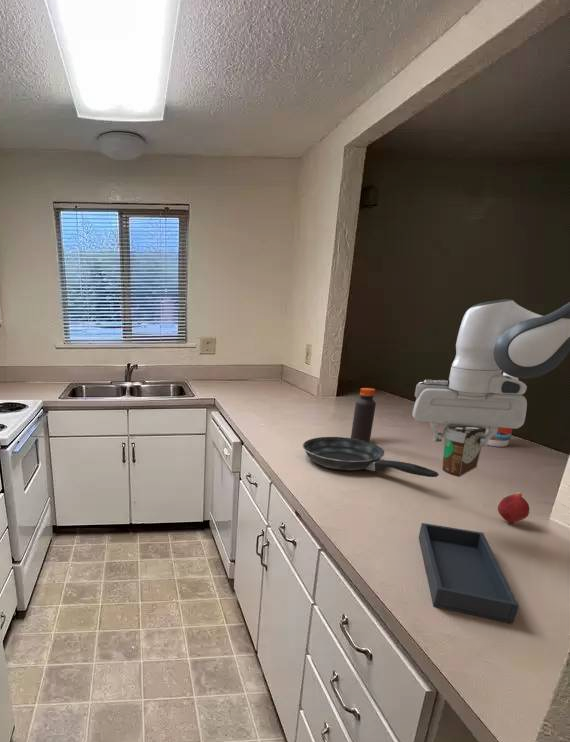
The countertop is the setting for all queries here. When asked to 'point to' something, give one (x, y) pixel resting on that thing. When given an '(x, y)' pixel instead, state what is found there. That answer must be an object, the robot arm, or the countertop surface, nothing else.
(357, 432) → the bottle
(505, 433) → the fruit juice
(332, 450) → the frying pan
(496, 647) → the countertop surface
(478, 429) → the food container
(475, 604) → the dark blue tray
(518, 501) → the onion
